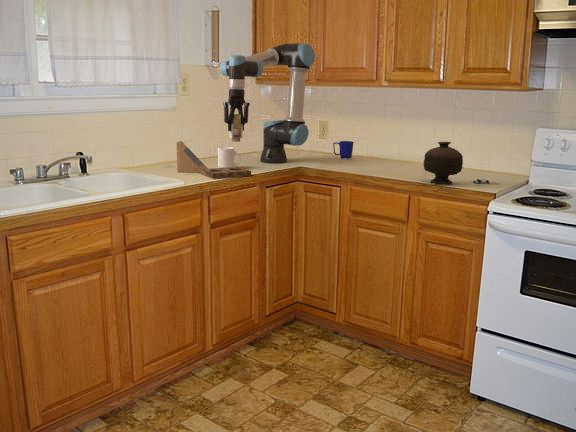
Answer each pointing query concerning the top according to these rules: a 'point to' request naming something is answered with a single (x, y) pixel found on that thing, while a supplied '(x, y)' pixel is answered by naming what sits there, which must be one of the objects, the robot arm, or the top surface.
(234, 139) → the peg
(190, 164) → the sandwich container
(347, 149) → the mug
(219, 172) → the board
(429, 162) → the pot
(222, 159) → the mug
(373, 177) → the top surface
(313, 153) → the top surface
